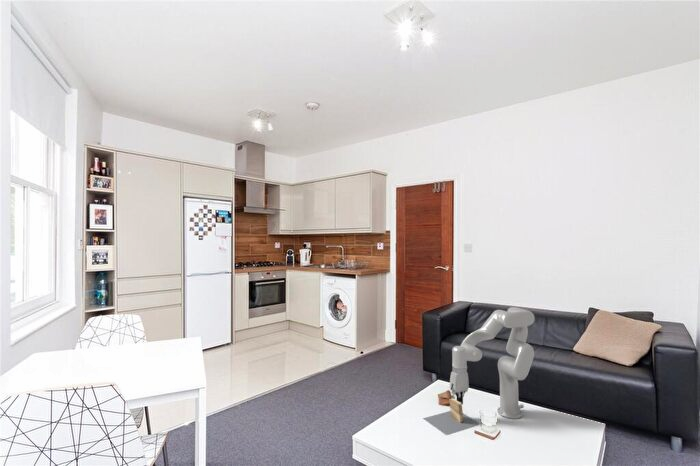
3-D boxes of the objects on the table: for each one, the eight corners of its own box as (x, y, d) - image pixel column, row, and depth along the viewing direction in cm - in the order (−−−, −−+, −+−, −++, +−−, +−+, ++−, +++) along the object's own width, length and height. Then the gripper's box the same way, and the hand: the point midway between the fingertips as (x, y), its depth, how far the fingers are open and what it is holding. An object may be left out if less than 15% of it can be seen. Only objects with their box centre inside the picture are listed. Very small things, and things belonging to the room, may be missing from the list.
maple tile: (454, 415, 195) (452, 398, 194) (463, 421, 188) (461, 403, 188) (451, 417, 193) (449, 399, 193) (460, 423, 187) (458, 404, 187)
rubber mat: (456, 410, 203) (456, 409, 203) (481, 425, 186) (481, 424, 186) (422, 419, 192) (422, 418, 192) (446, 436, 175) (446, 435, 175)
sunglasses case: (436, 393, 225) (442, 385, 225) (446, 400, 224) (452, 391, 223) (438, 406, 207) (443, 397, 207) (448, 413, 206) (454, 404, 206)
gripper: (464, 365, 199) (465, 398, 199) (444, 369, 193) (444, 403, 192) (474, 369, 193) (475, 403, 192) (453, 374, 186) (454, 409, 185)
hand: (459, 403), depth 192 cm, fingers closed
